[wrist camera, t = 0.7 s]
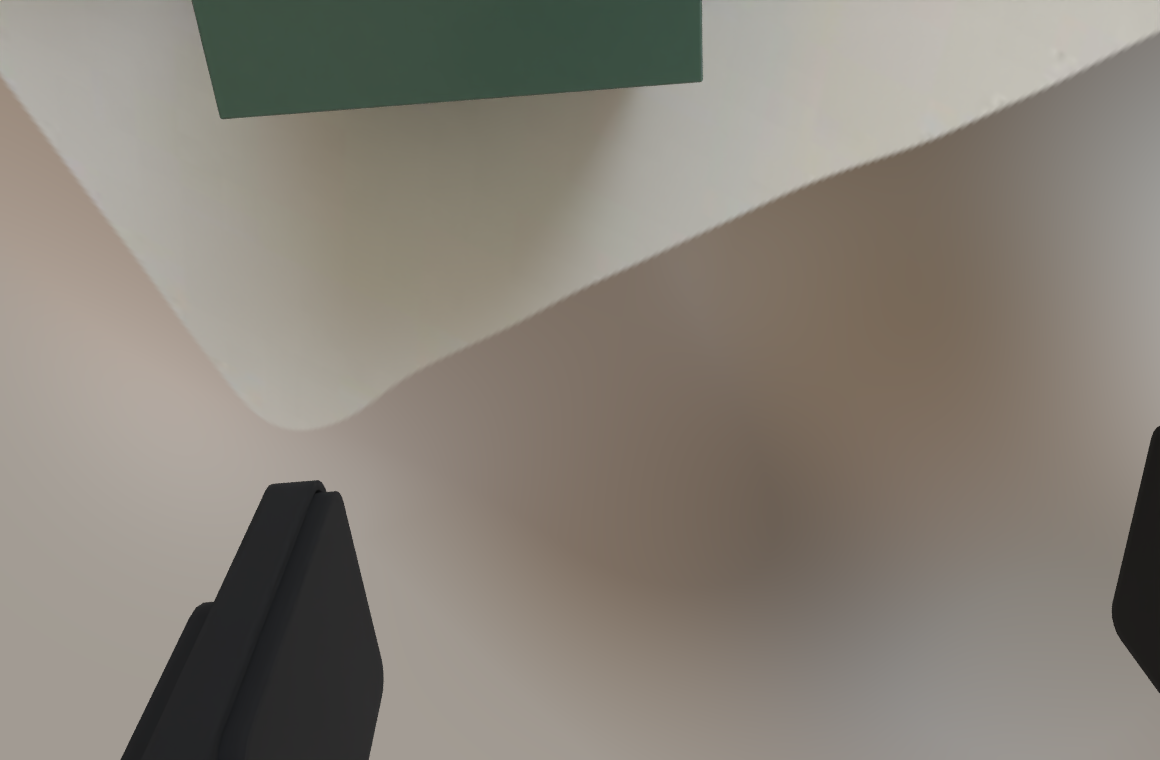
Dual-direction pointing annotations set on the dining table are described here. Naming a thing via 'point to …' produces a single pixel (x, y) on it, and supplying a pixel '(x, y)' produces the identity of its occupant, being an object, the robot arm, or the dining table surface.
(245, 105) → the bin lid
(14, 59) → the dining table surface
